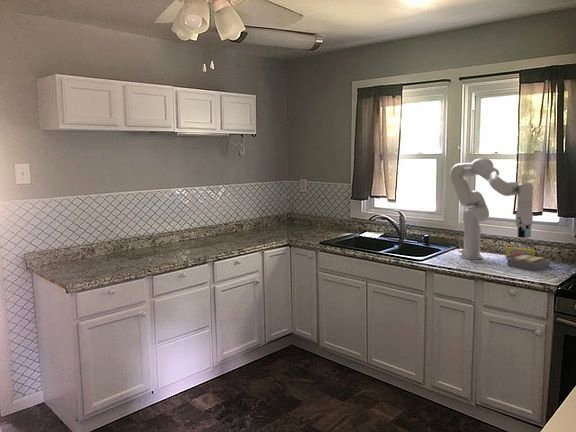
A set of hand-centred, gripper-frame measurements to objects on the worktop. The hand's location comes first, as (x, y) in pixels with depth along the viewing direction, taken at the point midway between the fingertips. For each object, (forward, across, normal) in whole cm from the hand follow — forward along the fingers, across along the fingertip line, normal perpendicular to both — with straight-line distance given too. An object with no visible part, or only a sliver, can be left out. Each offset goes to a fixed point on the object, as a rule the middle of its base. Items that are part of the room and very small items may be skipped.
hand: (524, 236), depth 280 cm
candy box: (+18, -13, -10) cm, 25 cm away
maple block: (+17, -2, +2) cm, 17 cm away
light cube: (+1, 0, 0) cm, 1 cm away
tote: (+18, -2, +2) cm, 18 cm away
